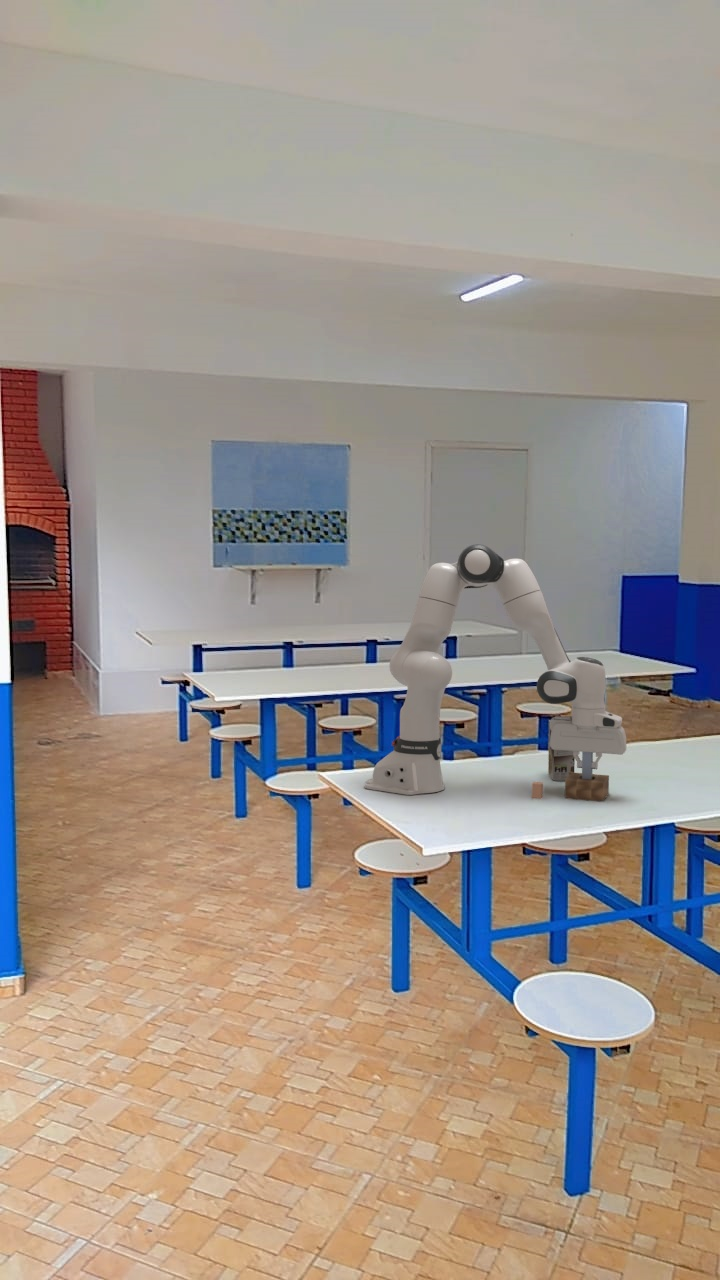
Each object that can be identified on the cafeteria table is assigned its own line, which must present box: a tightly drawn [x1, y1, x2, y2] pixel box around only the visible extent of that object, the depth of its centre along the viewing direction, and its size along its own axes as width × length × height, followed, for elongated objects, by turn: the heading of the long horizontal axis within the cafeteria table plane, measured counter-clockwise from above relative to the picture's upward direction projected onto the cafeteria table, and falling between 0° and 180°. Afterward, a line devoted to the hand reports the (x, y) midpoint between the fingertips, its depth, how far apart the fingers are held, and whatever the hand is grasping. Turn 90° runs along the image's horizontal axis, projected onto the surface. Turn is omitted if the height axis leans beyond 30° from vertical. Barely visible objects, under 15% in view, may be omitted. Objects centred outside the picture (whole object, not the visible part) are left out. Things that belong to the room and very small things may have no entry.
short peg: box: [531, 781, 544, 800], centre depth 271 cm, size 2×2×4 cm
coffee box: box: [547, 721, 576, 782], centre depth 295 cm, size 9×6×16 cm
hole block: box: [564, 772, 610, 803], centre depth 273 cm, size 10×10×5 cm
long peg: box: [581, 752, 594, 780], centre depth 273 cm, size 2×2×12 cm
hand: (587, 768), depth 272 cm, fingers closed on long peg, 2 cm apart
